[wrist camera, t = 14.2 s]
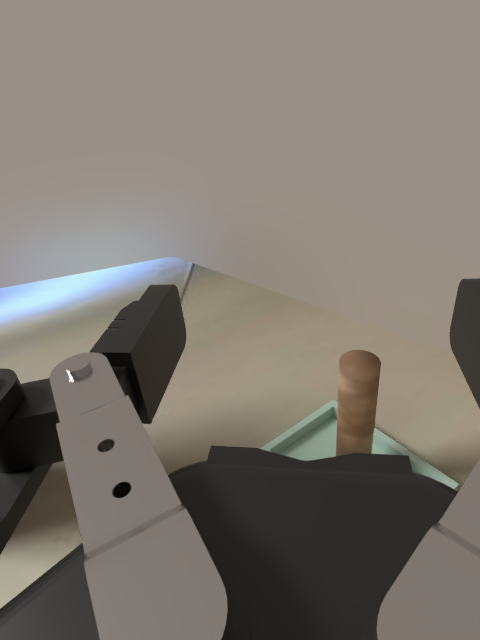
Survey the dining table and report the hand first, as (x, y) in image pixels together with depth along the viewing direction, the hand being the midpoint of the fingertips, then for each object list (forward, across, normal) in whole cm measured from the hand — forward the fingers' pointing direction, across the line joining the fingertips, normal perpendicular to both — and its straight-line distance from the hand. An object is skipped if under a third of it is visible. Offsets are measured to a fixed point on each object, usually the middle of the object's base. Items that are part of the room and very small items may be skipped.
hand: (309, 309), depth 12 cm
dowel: (+17, -4, +29) cm, 34 cm away
